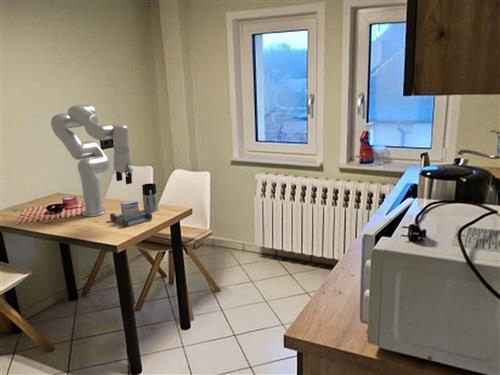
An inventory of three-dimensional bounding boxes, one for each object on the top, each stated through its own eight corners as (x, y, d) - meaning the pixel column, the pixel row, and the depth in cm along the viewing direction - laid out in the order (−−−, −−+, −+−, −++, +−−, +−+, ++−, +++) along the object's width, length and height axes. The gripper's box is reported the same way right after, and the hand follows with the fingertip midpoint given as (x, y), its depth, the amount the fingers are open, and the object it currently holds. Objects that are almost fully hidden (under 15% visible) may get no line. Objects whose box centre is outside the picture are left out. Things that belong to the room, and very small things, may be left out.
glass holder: (157, 207, 246) (155, 182, 242) (160, 214, 233) (158, 188, 229) (142, 209, 243) (140, 184, 240) (144, 216, 230) (142, 189, 227)
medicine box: (126, 220, 219) (124, 204, 217) (121, 218, 222) (120, 203, 220) (139, 217, 225) (138, 201, 223) (135, 215, 228) (133, 200, 226)
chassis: (110, 220, 224) (109, 213, 223) (136, 213, 235) (135, 206, 234) (126, 227, 213) (125, 219, 212) (152, 220, 223) (151, 212, 222)
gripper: (106, 148, 218) (109, 180, 222) (123, 152, 206) (126, 186, 210) (119, 147, 223) (122, 178, 227) (137, 150, 211) (139, 183, 216)
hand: (124, 182), depth 219 cm, fingers open, 9 cm apart
